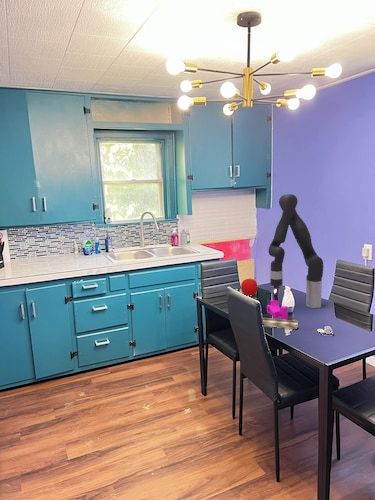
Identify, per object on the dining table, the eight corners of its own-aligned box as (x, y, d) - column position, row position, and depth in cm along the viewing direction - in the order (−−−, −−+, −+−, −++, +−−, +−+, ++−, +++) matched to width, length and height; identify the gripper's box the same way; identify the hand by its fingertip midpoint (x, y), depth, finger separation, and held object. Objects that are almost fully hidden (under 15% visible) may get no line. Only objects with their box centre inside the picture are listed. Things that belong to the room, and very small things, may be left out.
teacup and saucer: (315, 332, 200) (315, 325, 199) (326, 329, 203) (327, 322, 202) (326, 338, 192) (326, 331, 191) (338, 335, 195) (338, 328, 194)
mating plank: (297, 327, 207) (297, 320, 207) (297, 329, 204) (297, 323, 203) (261, 323, 214) (261, 317, 214) (260, 326, 211) (260, 320, 210)
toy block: (266, 312, 233) (266, 300, 232) (275, 310, 234) (275, 299, 233) (278, 320, 219) (278, 308, 217) (287, 319, 220) (288, 307, 219)
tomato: (261, 296, 264) (261, 278, 261) (248, 299, 258) (248, 281, 255) (249, 291, 274) (249, 275, 272) (237, 295, 268) (237, 278, 266)
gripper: (281, 280, 226) (281, 307, 229) (283, 275, 238) (283, 300, 241) (268, 279, 228) (268, 306, 231) (271, 274, 240) (271, 299, 244)
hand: (276, 303), depth 236 cm, fingers closed
